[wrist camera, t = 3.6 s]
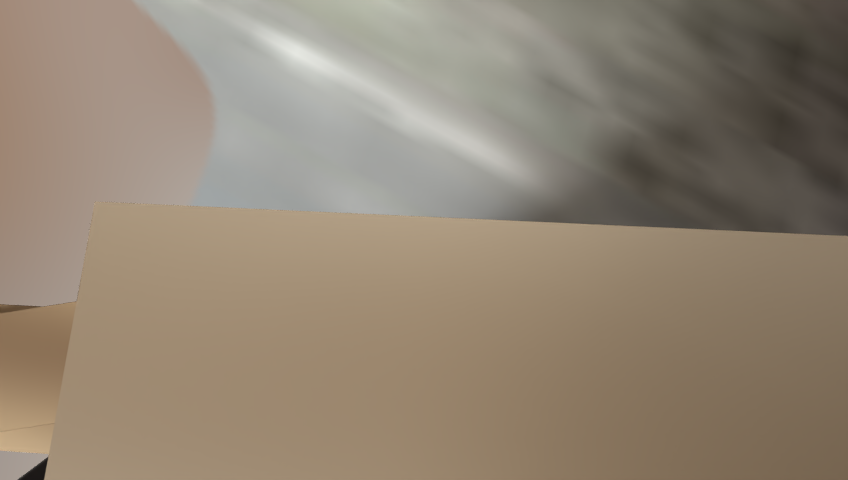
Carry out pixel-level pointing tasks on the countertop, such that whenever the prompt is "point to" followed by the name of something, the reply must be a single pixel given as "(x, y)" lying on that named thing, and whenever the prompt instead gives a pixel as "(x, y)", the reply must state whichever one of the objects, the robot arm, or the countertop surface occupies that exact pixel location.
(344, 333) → the tan wooden block
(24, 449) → the oak offcuts
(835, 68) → the countertop surface
